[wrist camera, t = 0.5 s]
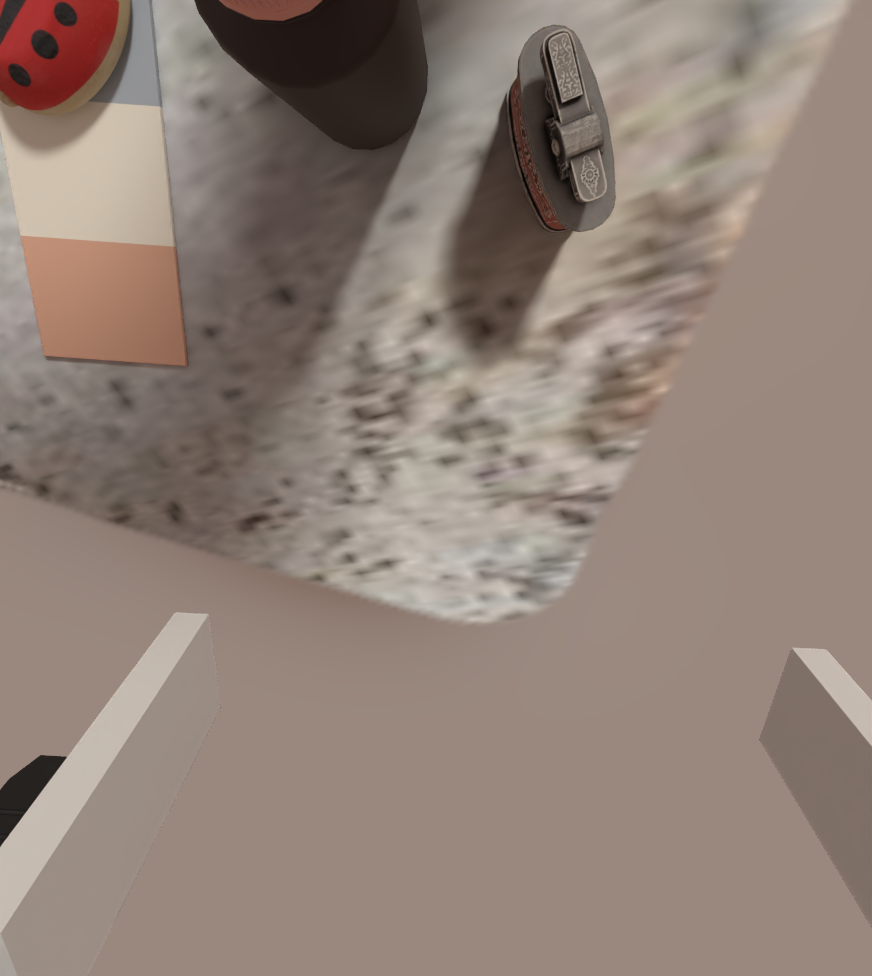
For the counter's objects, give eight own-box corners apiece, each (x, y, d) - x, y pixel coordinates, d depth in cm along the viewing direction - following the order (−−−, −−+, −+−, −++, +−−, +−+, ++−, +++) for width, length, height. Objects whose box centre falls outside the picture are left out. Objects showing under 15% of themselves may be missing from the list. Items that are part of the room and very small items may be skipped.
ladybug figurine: (164, -27, 30) (128, -59, 26) (86, 155, 33) (45, 146, 30) (38, -131, 28) (-17, -179, 25) (-31, 69, 31) (-88, 50, 28)
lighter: (593, 219, 34) (645, 213, 24) (536, 242, 34) (566, 243, 25) (554, 60, 31) (597, -16, 21) (492, 87, 31) (507, 25, 22)
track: (-35, -70, 29) (-40, -73, 29) (145, -58, 29) (142, -61, 29) (47, 354, 38) (44, 355, 37) (187, 365, 38) (185, 366, 37)
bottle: (394, -30, 29) (290, -475, 11) (448, 115, 32) (439, -54, 13) (277, 39, 31) (9, -256, 12) (338, 173, 33) (189, 93, 15)
